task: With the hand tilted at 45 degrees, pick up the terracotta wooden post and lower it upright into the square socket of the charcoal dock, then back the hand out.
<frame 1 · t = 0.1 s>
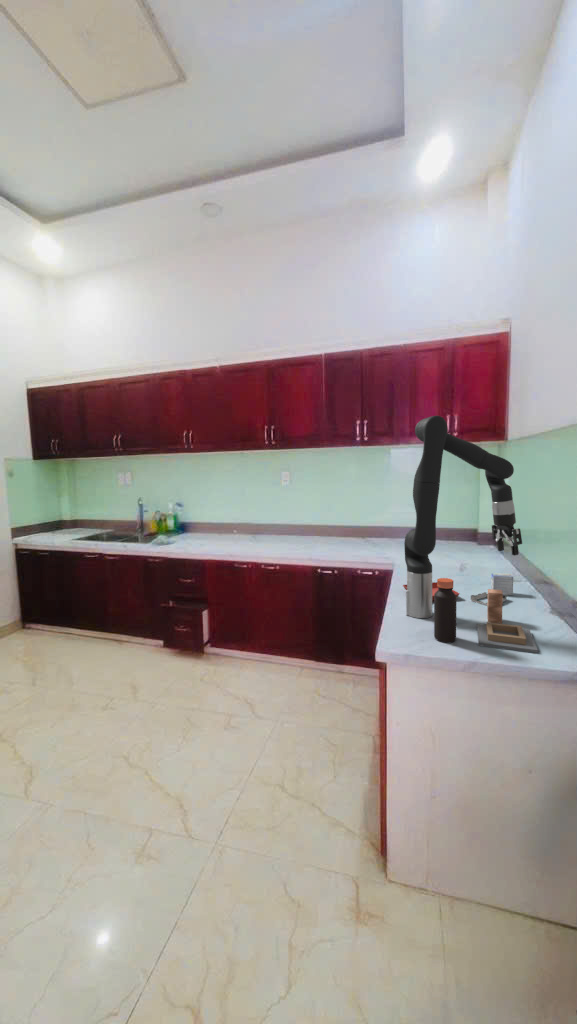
hand: (508, 552, 153), 22 cm above the table, tool pointing down, fingers open, 8 cm apart
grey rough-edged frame: (490, 602, 164), on the table
terracotta post: (494, 620, 144), on the table
plant saucer: (430, 596, 175), on the table
bottle: (445, 639, 130), on the table
socket dock: (504, 638, 129), on the table
medicine box: (501, 594, 173), on the table
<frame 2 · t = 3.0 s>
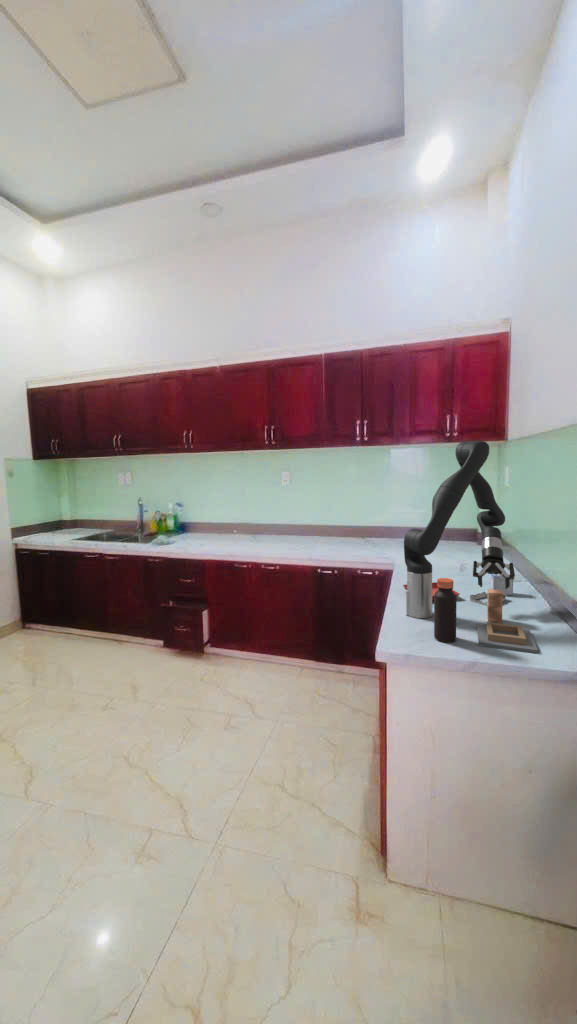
hand: (493, 586, 148), 11 cm above the table, tool tilted 45°, fingers open, 8 cm apart
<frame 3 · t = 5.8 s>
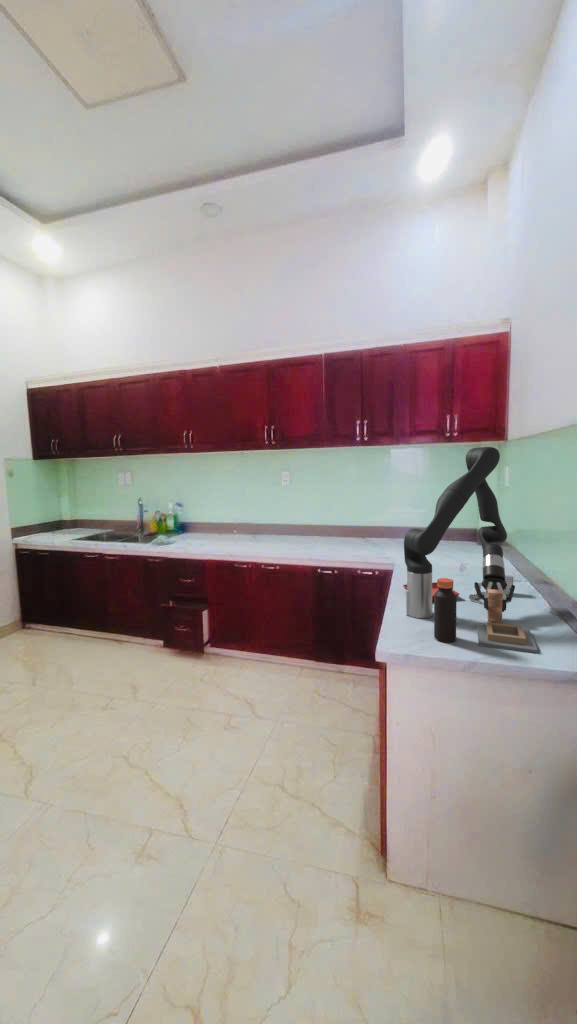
hand: (495, 609, 142), 5 cm above the table, tool tilted 45°, fingers closed on terracotta post, 4 cm apart
terracotta post: (494, 620, 144), on the table, touching gripper
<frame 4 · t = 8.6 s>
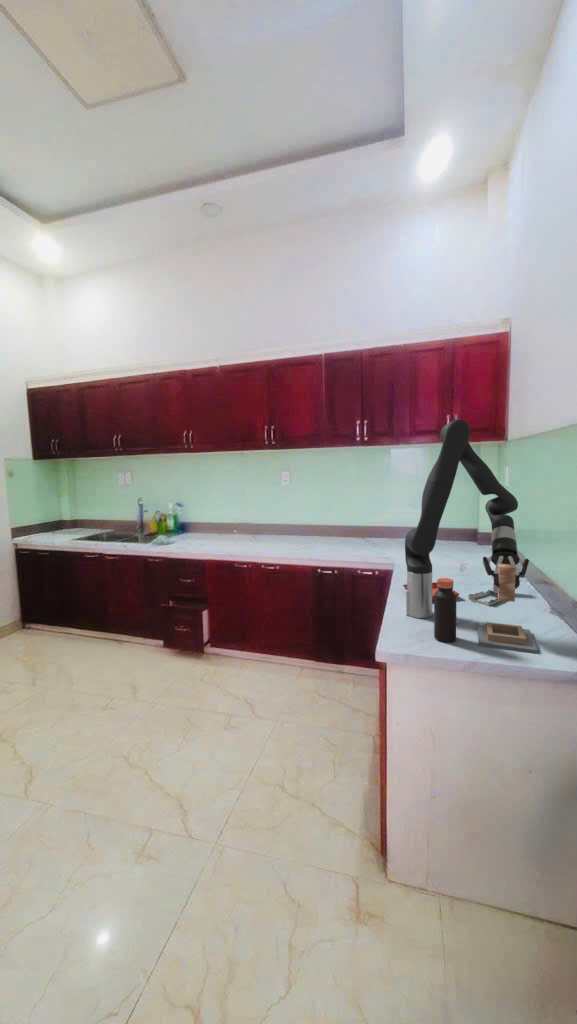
hand: (506, 586, 125), 18 cm above the table, tool tilted 45°, fingers closed on terracotta post, 4 cm apart
terracotta post: (505, 598, 127), point 13 cm above the table, touching gripper
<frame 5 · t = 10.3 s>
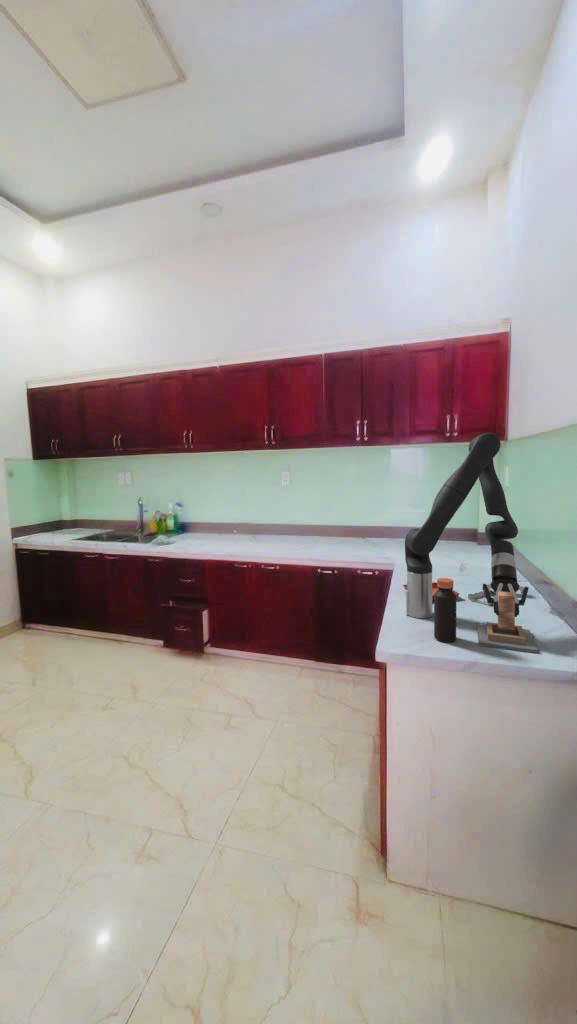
hand: (506, 614, 126), 9 cm above the table, tool tilted 45°, fingers closed on terracotta post, 4 cm apart
terracotta post: (505, 626, 128), point 4 cm above the table, touching gripper
when the fingers open (7 cm above the table, at t = 11.5 s): terracotta post drops 1 cm, resting on socket dock.
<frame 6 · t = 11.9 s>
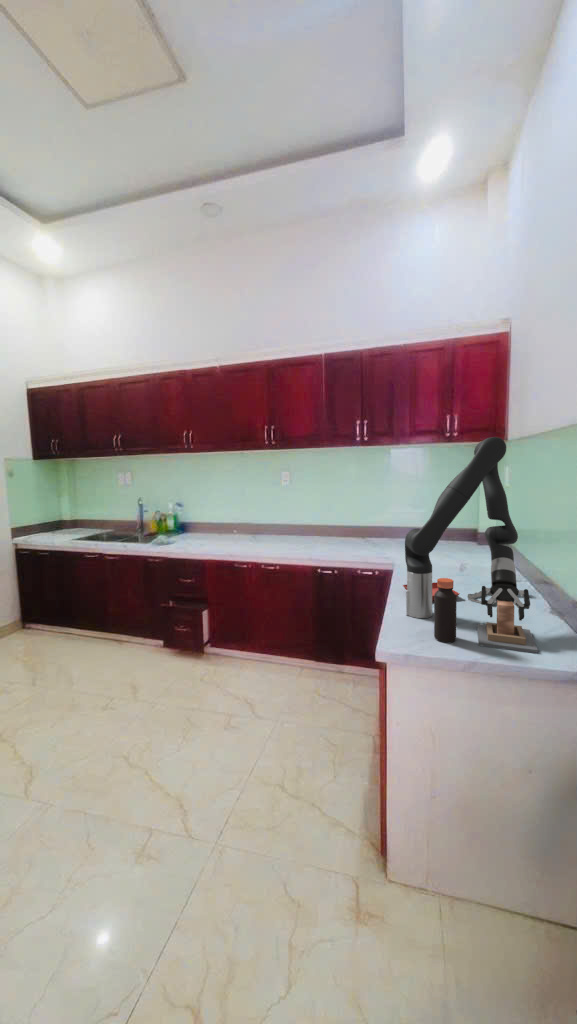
hand: (505, 617, 126), 8 cm above the table, tool tilted 45°, fingers open, 8 cm apart
terracotta post: (504, 635, 128), point 1 cm above the table, touching socket dock
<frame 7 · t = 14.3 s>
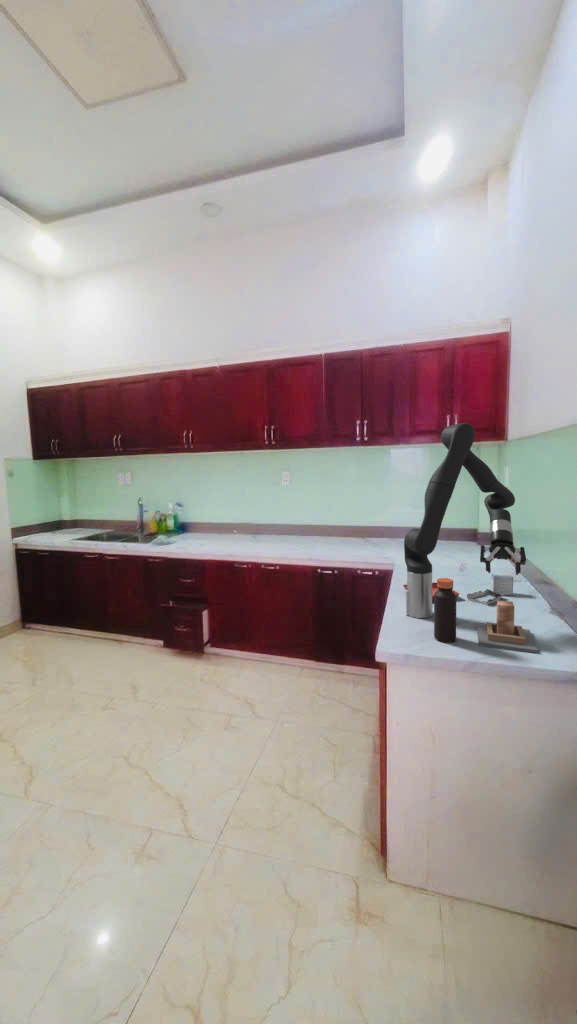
hand: (503, 572, 136), 19 cm above the table, tool tilted 45°, fingers open, 8 cm apart
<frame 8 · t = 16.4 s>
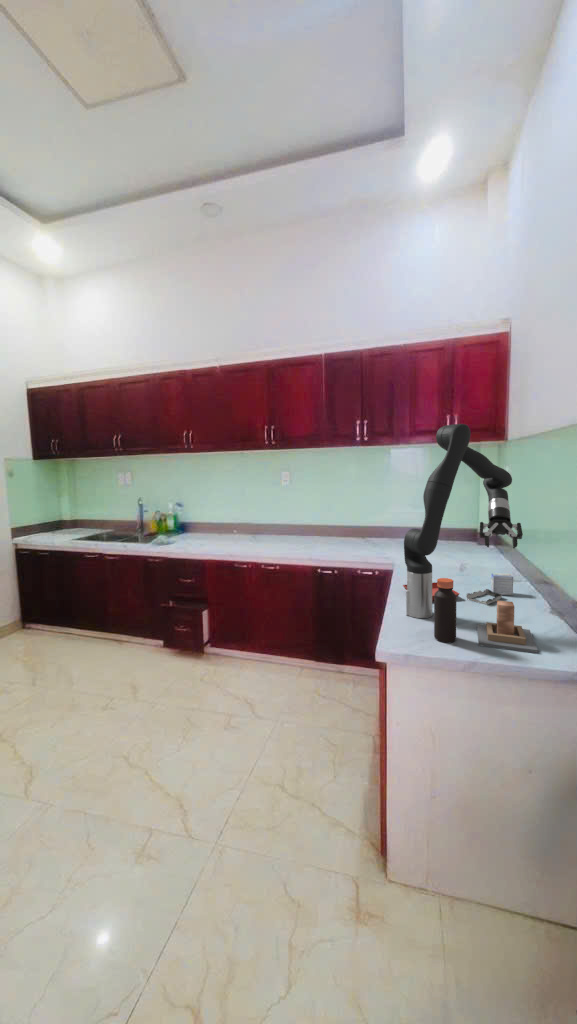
hand: (501, 546, 144), 27 cm above the table, tool tilted 45°, fingers open, 8 cm apart
at the end: terracotta post 0.1 cm off-centre on the socket dock, point 1.0 cm above the socket dock's base; terracotta post tilted 0°; the gripper is holding nothing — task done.
